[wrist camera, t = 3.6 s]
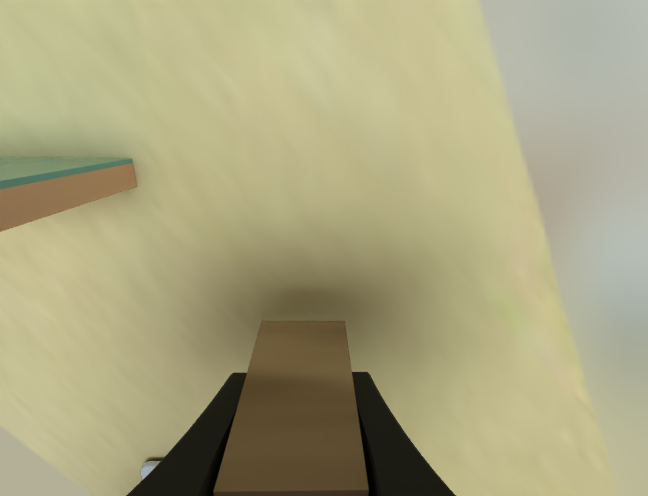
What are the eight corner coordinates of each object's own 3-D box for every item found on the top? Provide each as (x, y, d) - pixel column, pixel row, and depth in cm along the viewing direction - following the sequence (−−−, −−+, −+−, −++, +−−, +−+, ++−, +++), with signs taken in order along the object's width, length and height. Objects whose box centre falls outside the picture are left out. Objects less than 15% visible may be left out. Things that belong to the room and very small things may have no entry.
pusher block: (341, 387, 13) (360, 582, 7) (265, 387, 13) (226, 584, 7) (344, 321, 12) (369, 490, 6) (261, 321, 12) (213, 491, 6)
